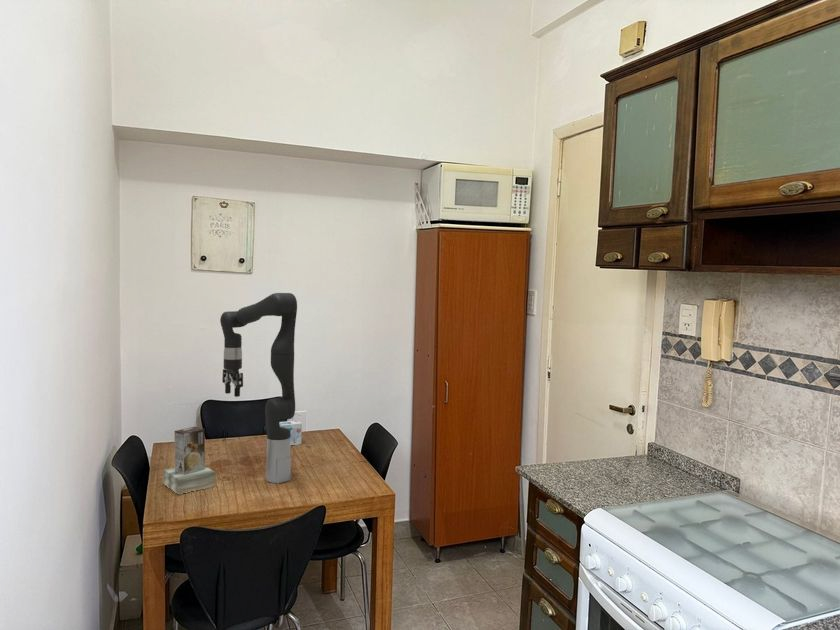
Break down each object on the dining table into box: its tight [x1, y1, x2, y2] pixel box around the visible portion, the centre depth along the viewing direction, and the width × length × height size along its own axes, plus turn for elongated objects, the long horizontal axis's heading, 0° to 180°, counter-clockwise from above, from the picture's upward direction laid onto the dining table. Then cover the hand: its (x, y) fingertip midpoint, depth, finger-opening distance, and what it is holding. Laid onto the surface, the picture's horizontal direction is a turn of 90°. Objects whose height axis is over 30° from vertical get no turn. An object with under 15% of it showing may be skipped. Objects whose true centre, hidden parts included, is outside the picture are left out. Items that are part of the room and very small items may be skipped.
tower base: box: [163, 465, 216, 495], centre depth 226 cm, size 14×14×6 cm
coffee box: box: [174, 426, 206, 475], centre depth 225 cm, size 9×6×16 cm
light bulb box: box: [279, 419, 303, 447], centre depth 286 cm, size 11×7×11 cm, turn 118°
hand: (232, 394), depth 253 cm, fingers open, 8 cm apart
